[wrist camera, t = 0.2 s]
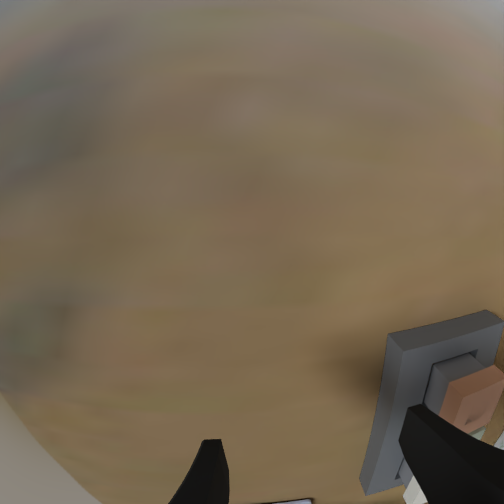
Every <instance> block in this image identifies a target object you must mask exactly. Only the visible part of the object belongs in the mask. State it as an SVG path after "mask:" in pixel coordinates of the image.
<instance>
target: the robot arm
mask: <svg viewBox="0 0 504 504" xmlns="http://www.w3.org/2000/svg"><path fill="white" fill-rule="evenodd" d="M398 441H399V444H400V447H401V450H402V453H403V455H404V458H405V460H406V462H407V464H408V466H409V468H410V470H411V472H412V473H413V475H414V477H415V479H416V481H417V482H418V484H419V486H420V488H421V490H422V492H423V493H424V495H425V497H426V499H427V501H428V504H504V450H502V449H499V448H497V447H494V446H492V445H489V444H487V443H485V442H482V441H480V440H478V439H476V438H474V437H473V436H471V435H469V434H467V433H465V432H463V431H462V430H460V429H458V428H457V427H455V426H454V425H452V424H450V423H449V422H447V421H446V420H444V419H443V418H441V417H440V416H438V415H437V414H435V413H434V412H432V411H431V410H429V409H428V408H427V407H425V406H423V405H422V404H417V405H414V406H411V407H408V408H407V412H406V415H405V419H404V423H403V426H402V430H401V433H400V436H399V440H398ZM228 503H229V469H228V465H227V461H226V457H225V453H224V449H223V446H222V442H221V439H210V440H203V441H202V443H201V446H200V448H199V451H198V453H197V455H196V458H195V460H194V462H193V464H192V466H191V468H190V470H189V472H188V473H187V475H186V477H185V479H184V480H183V482H182V484H181V486H180V487H179V489H178V490H177V492H176V493H175V495H174V496H173V498H172V499H171V501H170V502H169V503H168V504H228ZM274 504H311V500H310V499H305V500H299V501H291V502H283V503H274Z"/></svg>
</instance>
